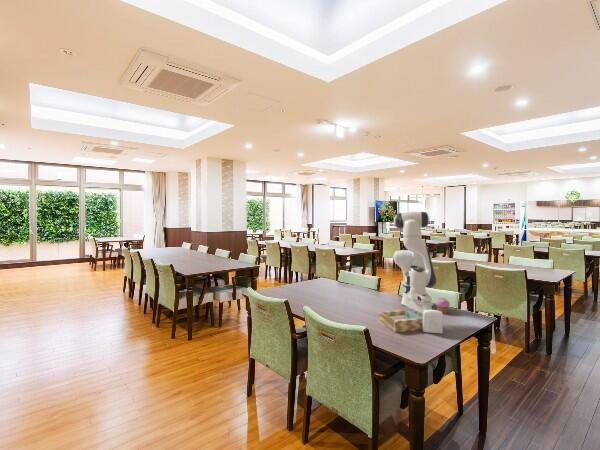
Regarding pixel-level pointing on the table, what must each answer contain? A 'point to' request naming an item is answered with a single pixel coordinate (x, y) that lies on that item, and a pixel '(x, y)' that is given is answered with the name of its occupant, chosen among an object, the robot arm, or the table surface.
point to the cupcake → (442, 305)
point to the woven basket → (399, 322)
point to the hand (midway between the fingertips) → (417, 318)
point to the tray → (406, 316)
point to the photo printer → (432, 321)
